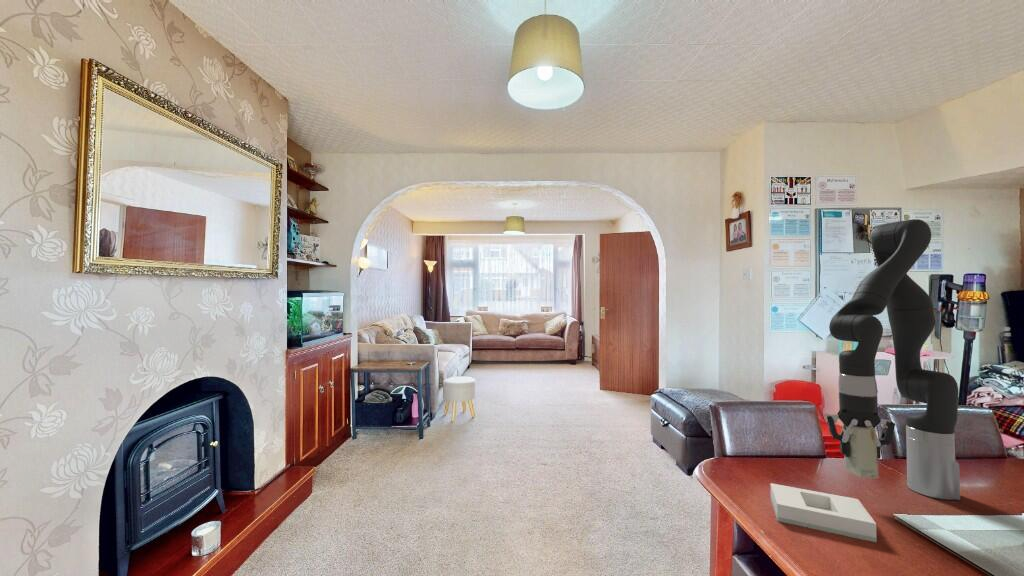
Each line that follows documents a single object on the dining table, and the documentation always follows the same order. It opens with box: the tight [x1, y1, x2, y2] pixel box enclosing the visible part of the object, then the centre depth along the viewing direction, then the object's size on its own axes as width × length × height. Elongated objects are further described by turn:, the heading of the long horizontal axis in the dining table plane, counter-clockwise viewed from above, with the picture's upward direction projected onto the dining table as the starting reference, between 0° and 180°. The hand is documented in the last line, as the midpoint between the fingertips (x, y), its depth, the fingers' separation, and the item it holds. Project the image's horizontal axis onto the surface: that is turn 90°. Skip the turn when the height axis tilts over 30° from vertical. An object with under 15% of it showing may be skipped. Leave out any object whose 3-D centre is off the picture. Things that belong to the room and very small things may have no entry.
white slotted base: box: [769, 482, 878, 543], centre depth 95 cm, size 18×12×4 cm, turn 63°
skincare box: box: [841, 421, 879, 479], centre depth 102 cm, size 6×4×12 cm
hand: (860, 457), depth 102 cm, fingers closed on skincare box, 5 cm apart
